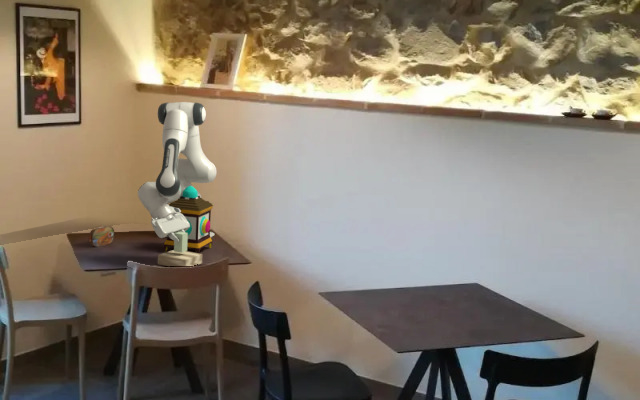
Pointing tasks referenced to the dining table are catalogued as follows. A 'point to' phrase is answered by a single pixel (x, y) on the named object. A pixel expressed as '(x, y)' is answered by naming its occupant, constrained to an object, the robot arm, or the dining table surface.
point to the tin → (101, 236)
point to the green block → (181, 242)
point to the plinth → (179, 258)
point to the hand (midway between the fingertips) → (182, 241)
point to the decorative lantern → (194, 219)
